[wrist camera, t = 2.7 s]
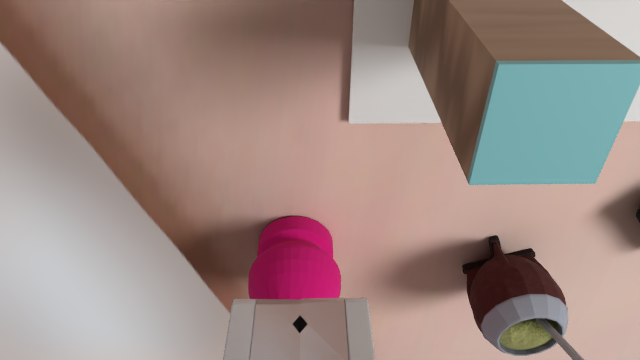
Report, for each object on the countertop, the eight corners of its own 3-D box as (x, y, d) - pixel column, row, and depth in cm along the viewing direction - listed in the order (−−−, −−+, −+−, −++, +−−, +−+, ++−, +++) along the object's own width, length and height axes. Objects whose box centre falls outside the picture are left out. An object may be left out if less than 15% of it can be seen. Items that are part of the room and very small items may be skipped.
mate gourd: (464, 292, 45) (520, 463, 33) (449, 236, 41) (509, 410, 29) (544, 273, 44) (634, 444, 32) (539, 213, 39) (641, 386, 27)
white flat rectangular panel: (361, -160, 24) (362, -160, 23) (870, -158, 24) (880, -157, 24) (348, 119, 33) (348, 123, 33) (711, 117, 34) (716, 120, 34)
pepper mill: (245, 261, 42) (207, 533, 26) (264, 201, 38) (234, 481, 22) (322, 277, 43) (332, 543, 28) (349, 221, 39) (379, 496, 23)
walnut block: (418, -39, 27) (498, 64, 16) (507, -39, 27) (649, 63, 16) (408, 47, 30) (469, 184, 19) (487, 46, 30) (595, 183, 19)
